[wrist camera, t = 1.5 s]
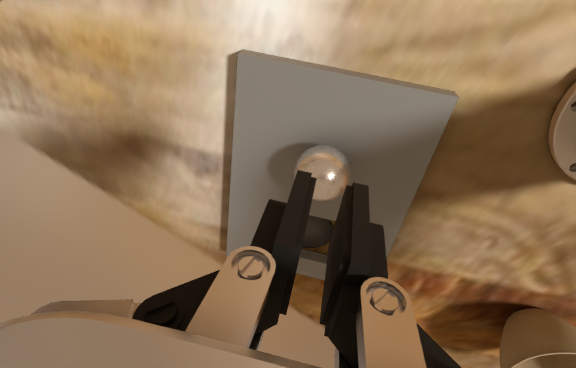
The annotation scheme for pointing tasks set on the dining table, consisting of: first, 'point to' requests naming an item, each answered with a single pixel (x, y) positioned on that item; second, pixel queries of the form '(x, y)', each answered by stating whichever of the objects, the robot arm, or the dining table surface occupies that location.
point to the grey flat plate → (328, 143)
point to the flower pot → (537, 341)
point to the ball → (325, 171)
